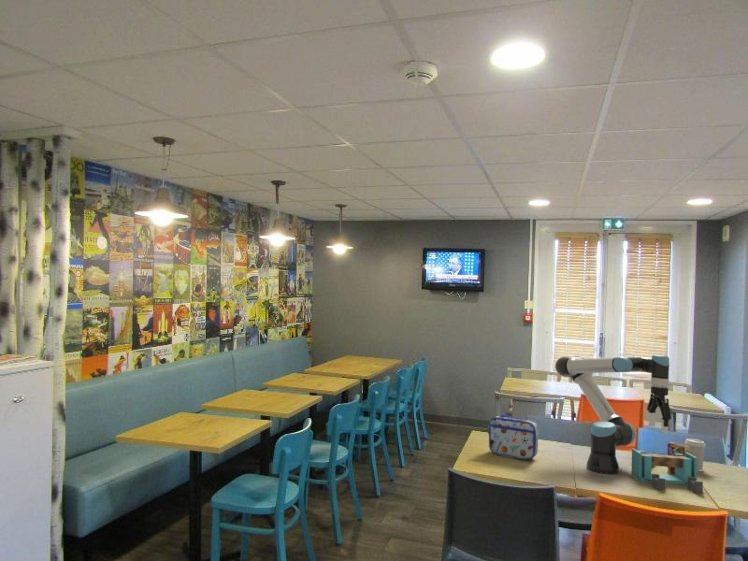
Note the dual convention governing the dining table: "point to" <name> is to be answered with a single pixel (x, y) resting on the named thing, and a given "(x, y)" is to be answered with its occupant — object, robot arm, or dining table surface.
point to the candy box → (676, 449)
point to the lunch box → (513, 437)
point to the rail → (665, 460)
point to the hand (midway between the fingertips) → (658, 429)
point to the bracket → (645, 474)
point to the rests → (692, 484)
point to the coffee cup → (696, 450)
